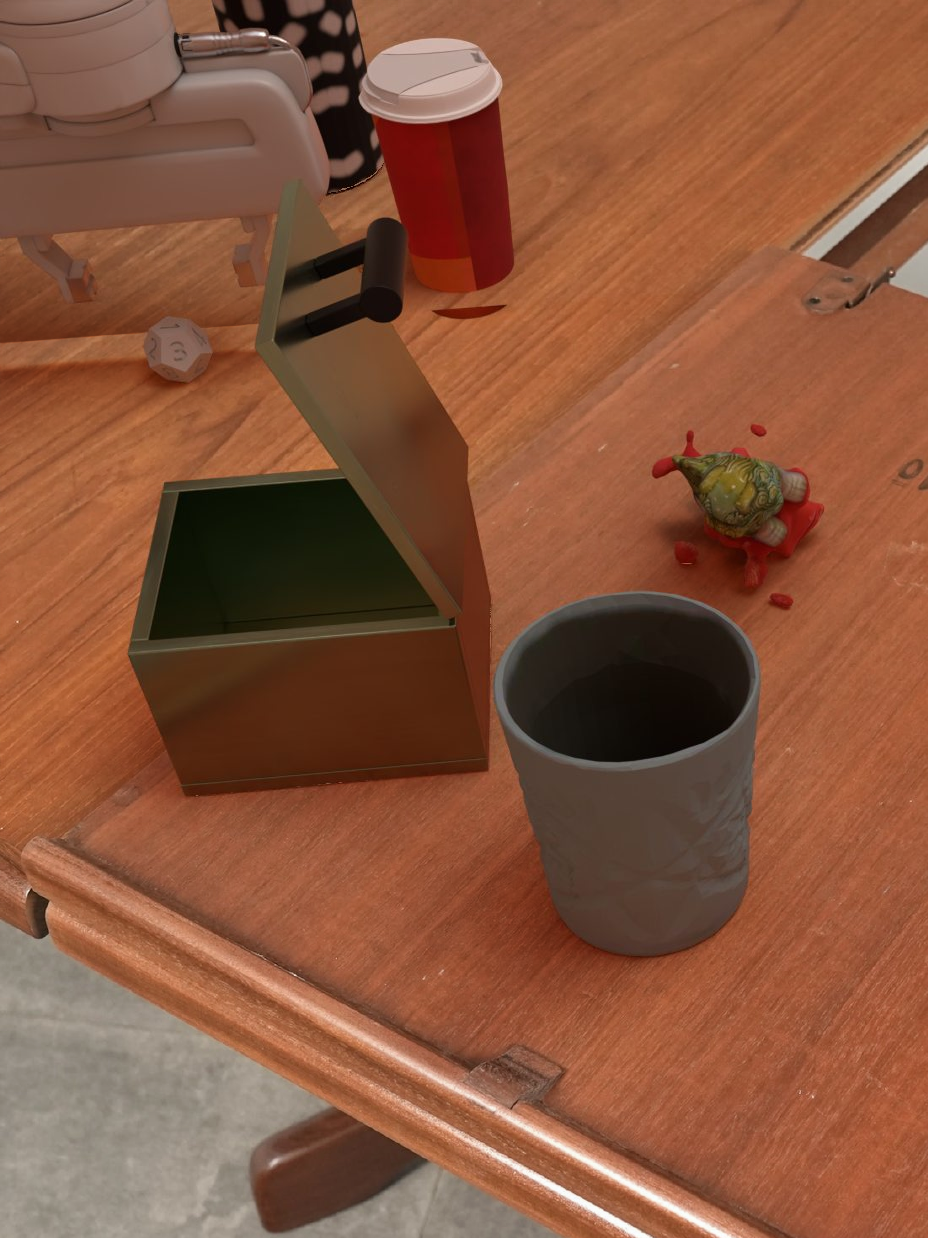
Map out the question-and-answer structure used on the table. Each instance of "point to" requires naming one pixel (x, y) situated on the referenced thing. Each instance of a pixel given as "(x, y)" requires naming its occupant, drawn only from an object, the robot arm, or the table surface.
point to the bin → (303, 641)
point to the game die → (177, 349)
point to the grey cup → (635, 764)
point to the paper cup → (445, 162)
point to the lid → (366, 385)
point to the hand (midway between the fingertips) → (169, 289)
